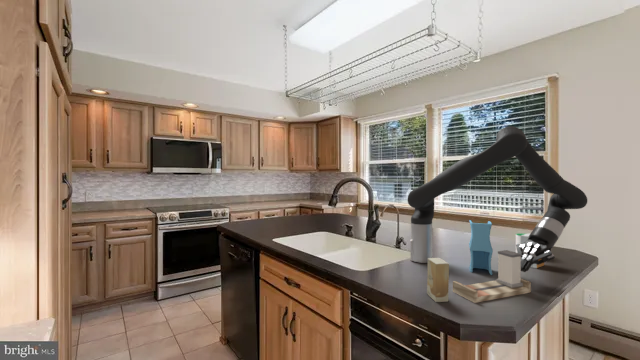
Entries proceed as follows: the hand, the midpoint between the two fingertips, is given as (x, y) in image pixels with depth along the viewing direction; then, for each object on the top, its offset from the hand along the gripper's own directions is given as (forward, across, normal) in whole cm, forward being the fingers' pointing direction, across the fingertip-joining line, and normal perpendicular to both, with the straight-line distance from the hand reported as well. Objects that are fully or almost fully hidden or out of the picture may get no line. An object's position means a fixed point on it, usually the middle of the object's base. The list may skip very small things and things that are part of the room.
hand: (521, 270), depth 101 cm
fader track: (+14, 0, +6) cm, 15 cm away
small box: (-15, +16, -24) cm, 32 cm away
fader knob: (+7, 0, +1) cm, 7 cm away
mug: (-23, +25, -32) cm, 47 cm away
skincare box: (+28, +2, +20) cm, 35 cm away
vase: (+4, +18, -5) cm, 19 cm away
